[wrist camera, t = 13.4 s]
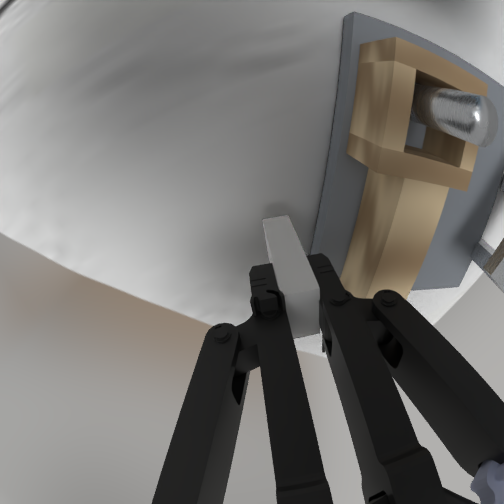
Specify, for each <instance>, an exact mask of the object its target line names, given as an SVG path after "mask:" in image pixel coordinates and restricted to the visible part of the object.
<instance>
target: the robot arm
mask: <svg viewBox="0 0 504 504" xmlns="http://www.w3.org/2000/svg"><path fill="white" fill-rule="evenodd" d="M262 221H263V227H264V233H265V239H266V245H267V252H268V258H269V262H270V263H269V264H264V265H258V266H253V267H252V269H251V271H250V273H249V276H250V284H251V292H252V297H251V300H250V303H251V307H252V312H253V314H252V316H251V317H250V318H249V319H248V320H247V321H246V322H244V323H242V324H240V325H238V326H236V327H235V326H234V325H232V324H229V323H221V324H217V325H215V326H213V327H212V328H211V329H209V330H208V332H207V334H206V336H205V340H204V342H203V345H202V348H201V351H200V354H199V357H198V360H197V363H196V366H195V369H194V372H193V375H192V378H191V381H190V384H189V387H188V390H187V393H186V396H185V399H184V402H183V405H182V408H181V411H180V415H179V418H178V421H177V424H176V427H175V430H174V433H173V437H172V440H171V443H170V446H169V449H168V452H167V455H166V459H165V462H164V465H163V468H162V471H161V475H160V478H159V481H158V485H157V488H156V491H155V494H154V498H153V501H152V504H223V500H224V496H225V492H226V487H227V482H228V478H229V473H230V469H231V464H232V459H233V454H234V449H235V444H236V440H237V435H238V430H239V425H240V420H241V415H242V410H243V405H244V400H245V395H246V390H247V385H248V380H249V374H250V371H251V370H253V369H255V368H257V367H259V366H260V368H261V377H262V385H263V392H264V400H265V406H266V414H267V422H268V429H269V437H270V444H271V451H272V458H273V465H274V473H275V480H276V496H277V504H333V501H332V496H331V492H330V487H329V484H328V482H327V479H326V477H325V473H324V468H323V464H322V459H321V455H320V450H319V446H318V441H317V437H316V432H315V428H314V424H313V420H312V415H311V411H310V406H309V402H308V398H307V393H306V389H305V385H304V381H303V377H302V372H301V368H300V364H299V360H298V356H297V352H296V348H295V344H294V340H293V339H295V338H300V337H304V336H309V335H314V334H318V333H320V328H321V331H322V334H323V335H322V353H323V352H325V351H326V354H327V358H328V361H329V363H330V367H331V370H332V373H333V377H334V380H335V383H336V386H337V390H338V393H339V396H340V400H341V403H342V406H343V410H344V413H345V417H346V420H347V424H348V427H349V431H350V434H351V438H352V441H353V445H354V449H355V452H356V456H357V459H358V463H359V467H360V471H361V475H362V491H363V495H364V500H365V504H478V503H475V502H473V501H471V500H469V499H466V498H464V497H462V496H460V495H458V494H456V493H454V492H452V491H450V490H448V489H446V488H443V487H442V484H441V481H440V478H439V475H438V472H437V469H436V466H435V463H434V460H433V458H432V456H431V454H430V452H429V451H428V450H427V448H425V447H422V446H421V445H420V444H419V442H418V440H417V437H416V435H415V432H414V429H413V427H412V424H411V421H410V419H409V416H408V414H407V411H406V409H405V407H404V404H403V402H402V399H401V397H400V394H399V392H398V390H397V387H396V385H395V383H394V380H393V378H394V379H395V381H396V382H397V383H398V385H399V386H400V387H401V388H402V390H403V391H404V392H405V393H406V395H407V396H408V397H409V399H410V400H411V401H412V403H413V404H414V405H415V407H416V408H417V409H418V410H419V412H420V413H421V414H422V416H423V417H424V418H425V420H426V421H427V422H428V423H429V425H430V426H431V428H432V429H433V430H434V432H435V433H436V434H437V436H438V437H439V438H440V440H441V441H442V442H443V444H444V445H445V447H446V448H447V449H448V451H449V452H450V453H451V455H452V456H453V457H454V459H455V460H456V461H457V463H458V464H459V465H460V466H461V467H462V468H463V469H464V470H465V471H466V472H467V473H468V474H470V475H471V476H473V477H474V480H473V481H472V483H471V490H472V491H473V492H475V493H476V494H477V495H478V496H479V498H480V501H481V504H504V402H503V401H502V400H501V399H500V398H499V396H498V395H497V394H496V393H495V392H494V391H493V389H491V387H490V386H489V385H488V384H487V383H486V381H485V380H484V379H483V378H482V377H481V376H480V375H479V374H478V372H477V371H476V370H475V369H474V368H473V367H472V366H471V365H470V364H469V363H468V362H467V361H466V359H465V358H464V357H463V356H462V355H461V354H460V353H459V352H458V351H457V350H456V349H455V348H454V347H453V346H452V345H451V344H450V343H449V342H448V341H447V340H446V339H445V338H444V337H443V336H442V335H441V334H440V332H438V330H437V329H435V328H434V327H433V326H432V325H431V324H430V323H429V322H428V321H427V320H426V319H425V318H424V317H423V316H422V315H421V314H420V313H419V312H418V311H417V310H416V309H415V308H414V307H413V306H412V305H411V304H410V303H409V302H408V301H407V300H406V299H404V298H403V297H402V296H401V295H400V294H399V293H397V292H396V291H393V290H390V289H384V290H380V291H378V292H377V293H375V295H374V297H373V299H370V298H357V297H354V296H353V295H352V294H351V292H349V291H347V290H345V289H344V287H343V285H342V283H341V281H340V279H339V277H338V275H337V273H336V271H335V269H334V267H333V266H332V264H331V262H330V260H329V258H328V257H326V256H325V255H324V254H322V253H319V254H313V255H308V256H306V254H305V252H304V250H303V248H302V245H301V243H300V241H299V238H298V236H297V234H296V232H295V229H294V227H293V225H292V223H291V220H290V218H289V216H288V215H284V216H278V217H272V218H267V219H262ZM392 377H393V378H392Z"/></svg>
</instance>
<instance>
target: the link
mask: <svg viewBox="0 0 504 504" xmlns="http://www.w3.org/2000/svg"><path fill="white" fill-rule="evenodd" d="M415 82H416V83H419V84H421V85H426V86H434V87H440V88H447V89H453V90H458V91H463V92H468V93H473V94H478V95H482V96H486V97H487V89H488V84H486V83H485V82H483V81H481V80H480V79H478V78H477V77H475V76H474V75H472V74H470V73H469V72H467V71H465V70H464V69H462V68H460V67H458V66H457V65H455V64H453V63H451V62H449V61H448V60H446V59H444V58H442V57H440V56H438V55H436V54H434V53H432V52H430V51H428V50H426V49H424V48H421V47H419V46H417V45H415V44H413V43H410V42H408V41H405V40H403V39H401V38H398V37H392V38H387V39H382V40H377V41H372V42H367V43H363V44H360V52H359V63H358V72H357V81H356V90H355V97H354V105H353V112H352V119H351V126H350V132H349V138H348V145H347V150H346V153H347V154H348V155H350V156H352V157H353V158H355V159H356V160H358V161H359V162H361V163H362V164H364V165H365V166H367V167H368V168H369V169H368V173H367V178H366V183H365V187H364V192H363V196H362V200H361V204H360V209H359V213H358V217H357V221H356V224H355V228H354V232H353V236H352V239H351V243H350V247H349V250H348V254H347V257H346V261H345V264H344V267H343V271H342V274H341V277H340V281H341V283H342V285H343V287H344V289H345V290H347V291H349V292H351V294H352V295H353V296H354V297H357V298H370V299H373V297H374V295H375V293H377V292H378V291H380V290H384V289H390V290H393V291H396V292H397V293H399V294H400V295H401V296H402V297H403V298H404V299H407V297H408V295H409V293H410V291H411V289H412V286H413V284H414V282H415V280H416V278H417V275H418V273H419V271H420V268H421V266H422V264H423V261H424V259H425V256H426V254H427V251H428V249H429V246H430V244H431V241H432V238H433V236H434V233H435V230H436V227H437V225H438V222H439V219H440V216H441V213H442V210H443V207H444V204H445V200H446V197H447V194H448V190H449V187H450V188H454V189H458V190H462V191H466V192H467V190H468V186H469V183H470V179H471V176H472V172H473V168H474V164H475V160H476V156H477V151H478V147H479V146H477V145H474V144H472V143H470V142H467V141H465V140H462V139H460V138H457V137H455V136H452V135H450V134H447V133H444V132H442V131H439V130H436V129H433V128H430V127H427V126H426V132H425V137H424V142H423V147H422V149H420V148H416V147H412V146H409V145H405V142H406V136H407V131H408V125H409V120H410V114H411V107H412V100H413V93H414V85H415Z"/></svg>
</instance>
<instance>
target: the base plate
mask: <svg viewBox="0 0 504 504" xmlns="http://www.w3.org/2000/svg"><path fill="white" fill-rule="evenodd" d="M392 37H398V38H401V39H403V40H405V41H408V42H410V43H413V44H415V45H417V46H419V47H421V48H424V49H426V50H428V51H430V52H432V53H434V54H436V55H438V56H440V57H442V58H444V59H446V60H448V61H449V62H451V63H453V64H455V65H457V66H458V67H460V68H462V69H464V70H465V71H467V72H469V73H470V74H472V75H474V76H475V77H477V78H478V79H480V80H481V81H483V82H485V83H486V84H488V89H487V98H489V99H490V100H491V101H492V103H493V104H494V106H495V108H496V111H497V116H498V130H497V134H496V137H495V139H494V140H493V142H492V143H491V144H490V145H489V146H487V147H478V151H477V156H476V160H475V164H474V168H473V172H472V176H471V179H470V183H469V186H468V190H467V192H466V191H462V190H458V189H454V188H450V187H449V190H448V194H447V197H446V200H445V204H444V207H443V210H442V213H441V216H440V219H439V222H438V225H437V227H436V230H435V233H434V236H433V238H432V241H431V244H430V246H429V249H428V251H427V254H426V256H425V259H424V261H423V264H422V266H421V268H420V271H419V273H418V275H417V278H416V280H415V282H414V284H413V286H412V289H411V290H426V289H439V288H452V287H459V285H460V283H461V281H462V280H463V277H464V275H465V273H466V271H467V269H468V267H469V265H470V263H471V261H472V259H471V258H470V257H471V254H472V252H473V250H474V247H475V245H476V243H477V241H478V242H480V240H481V237H482V235H483V232H484V230H485V227H486V224H487V222H488V219H489V216H490V213H491V210H492V207H493V204H494V201H495V198H496V195H497V192H498V188H499V185H500V181H501V178H502V174H503V170H504V87H503V86H502V85H500V84H499V83H498V82H496V81H495V80H494V79H492V78H491V77H489V76H488V75H486V74H485V73H483V72H482V71H480V70H479V69H477V68H476V67H474V66H473V65H471V64H470V63H468V62H466V61H465V60H463V59H461V58H460V57H458V56H456V55H455V54H453V53H451V52H449V51H447V50H446V49H444V48H442V47H440V46H438V45H436V44H434V43H432V42H430V41H428V40H426V39H424V38H422V37H420V36H418V35H415V34H413V33H411V32H409V31H406V30H404V29H402V28H399V27H397V26H394V25H392V24H389V23H387V22H384V21H381V20H378V19H376V18H373V17H370V16H367V15H364V14H360V13H357V12H352V13H350V14H348V15H346V16H344V30H343V43H342V54H341V65H340V74H339V83H338V92H337V100H336V108H335V116H334V123H333V130H332V137H331V144H330V150H329V157H328V163H327V169H326V175H325V181H324V186H323V192H322V198H321V203H320V208H319V214H318V219H317V224H316V229H315V234H314V239H313V244H312V248H311V253H310V255H313V254H319V253H322V254H324V255H325V256H326V257H328V258H329V260H330V262H331V264H332V266H333V267H334V269H335V271H336V273H337V275H338V277H339V279H340V277H341V274H342V271H343V267H344V264H345V261H346V257H347V254H348V250H349V247H350V243H351V239H352V236H353V232H354V228H355V224H356V221H357V217H358V213H359V209H360V204H361V200H362V196H363V192H364V187H365V183H366V178H367V173H368V169H369V168H368V167H367V166H365V165H364V164H362V163H361V162H359V161H358V160H356V159H355V158H353V157H352V156H350V155H348V154H347V153H346V150H347V145H348V138H349V132H350V126H351V119H352V112H353V105H354V97H355V90H356V81H357V72H358V63H359V52H360V44H363V43H367V42H372V41H377V40H382V39H387V38H392ZM415 84H418V85H421V84H419V83H416V82H415ZM425 132H426V126H424V125H421V124H418V123H415V122H412V121H409V125H408V131H407V136H406V142H405V145H409V146H412V147H416V148H420V149H422V147H423V142H424V137H425Z"/></svg>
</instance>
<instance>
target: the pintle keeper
mask: <svg viewBox="0 0 504 504" xmlns="http://www.w3.org/2000/svg"><path fill="white" fill-rule="evenodd" d="M409 121H412V122H415V123H418V124H421V125H424V126H427V127H430V128H433V129H436V130H439V131H442V132H444V133H447V134H450V135H452V136H455V137H457V138H460V139H462V140H465V141H467V142H470V143H472V144H474V145H477V146H479V147H487V146H489V145H490V144H491V143H492V142H493V140H494V139H495V137H496V134H497V130H498V116H497V111H496V108H495V106H494V104H493V103H492V101H491V100H490V99H489V98H487V97H486V96H482V95H478V94H473V93H468V92H463V91H458V90H453V89H447V88H440V87H434V86H426V85H418V84H415V85H414V93H413V100H412V107H411V114H410V120H409ZM501 191H503V192H504V179H503V183H502V186H501ZM470 258H471V259H472V260H473V261H474V262H475V263H476V264H477V265H478V266H479V267H480V268H481V269H482V270H483V271H484V272H485V273H486V274H487V275H488V276H489V278H490V279H491V280H492V281H493V282H494V283H495V284H496V285H497V286H498V287H499V289H501V290H502V291H503V293H504V238H503V240H502V241H501V243H500V244H499V246H498V247H497V249H496V250H495V249H493V248H492V247H491V246H490V245H489V244H488V243H487V242H486V241H485V240H483V239H482V238H481V240H480V242H478V241H477V243H476V245H475V247H474V250H473V252H472V254H471V257H470Z"/></svg>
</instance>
